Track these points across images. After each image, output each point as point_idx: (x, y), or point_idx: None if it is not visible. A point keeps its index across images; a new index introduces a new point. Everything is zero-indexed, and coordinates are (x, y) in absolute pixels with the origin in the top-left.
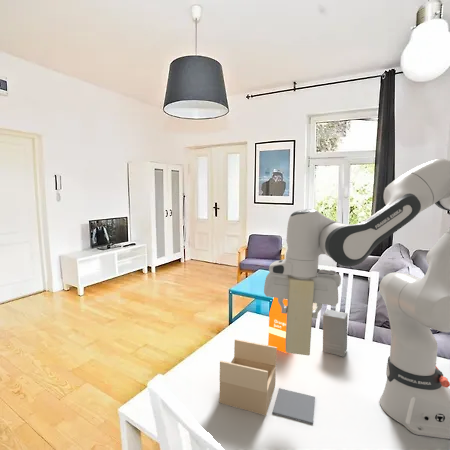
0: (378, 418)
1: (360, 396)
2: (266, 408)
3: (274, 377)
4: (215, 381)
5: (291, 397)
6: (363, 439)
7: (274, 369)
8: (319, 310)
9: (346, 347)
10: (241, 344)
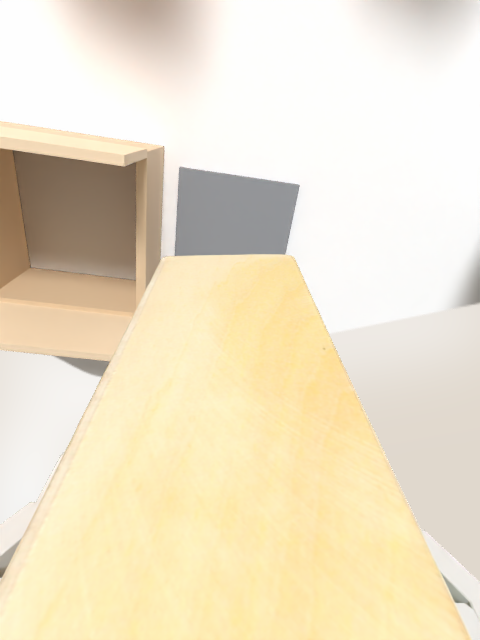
0: (461, 230)
1: (459, 133)
2: None
3: (154, 176)
4: None
5: (223, 208)
6: (385, 308)
7: (146, 187)
8: None
9: None
10: None
